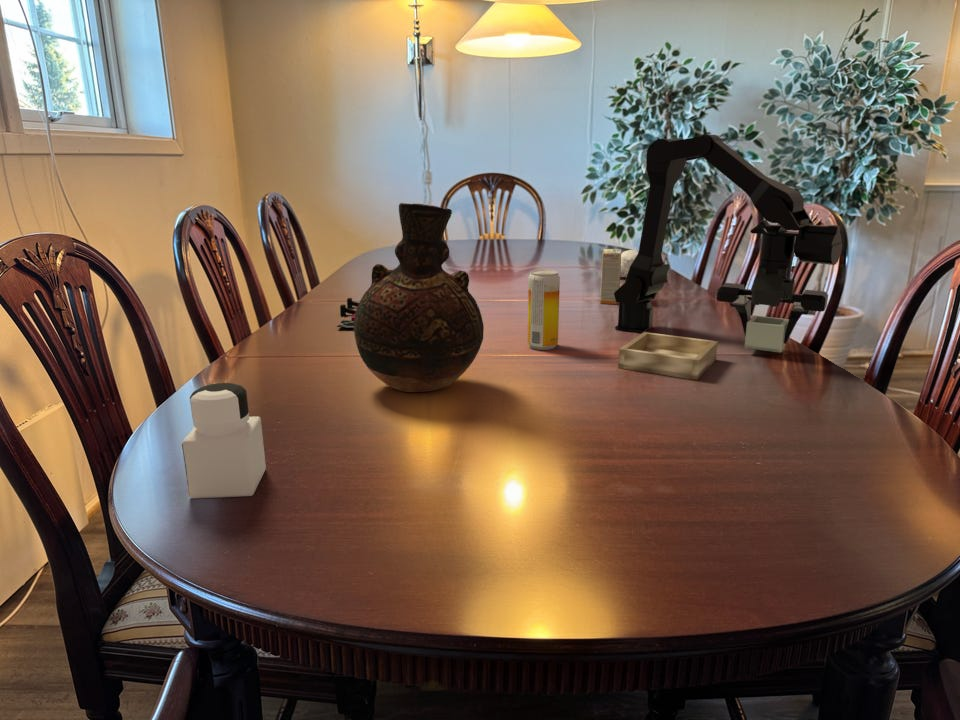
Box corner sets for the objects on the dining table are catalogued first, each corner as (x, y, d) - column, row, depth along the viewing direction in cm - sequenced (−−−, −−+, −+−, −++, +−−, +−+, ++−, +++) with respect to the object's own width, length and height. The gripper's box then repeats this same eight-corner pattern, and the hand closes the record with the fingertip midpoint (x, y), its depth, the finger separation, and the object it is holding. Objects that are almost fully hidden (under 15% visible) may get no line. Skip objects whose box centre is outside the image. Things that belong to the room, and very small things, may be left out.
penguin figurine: (643, 250, 205) (604, 255, 204) (644, 278, 208) (606, 283, 206) (635, 247, 211) (598, 252, 210) (636, 275, 214) (599, 280, 212)
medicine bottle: (207, 471, 84) (195, 379, 80) (266, 469, 85) (257, 377, 81) (188, 499, 77) (174, 400, 74) (253, 497, 78) (242, 397, 74)
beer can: (561, 344, 138) (564, 270, 134) (552, 352, 133) (553, 275, 129) (533, 341, 141) (535, 268, 136) (522, 348, 136) (523, 273, 131)
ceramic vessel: (345, 403, 106) (332, 206, 98) (368, 369, 123) (359, 198, 114) (481, 405, 105) (479, 206, 97) (485, 370, 122) (485, 198, 113)
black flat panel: (328, 331, 150) (396, 332, 150) (327, 318, 150) (396, 319, 150) (353, 304, 179) (410, 305, 179) (352, 293, 178) (410, 294, 178)
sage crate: (744, 347, 130) (747, 322, 129) (750, 340, 135) (753, 315, 134) (781, 352, 127) (784, 326, 125) (786, 344, 132) (789, 319, 131)
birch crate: (618, 367, 123) (619, 349, 122) (643, 349, 135) (644, 331, 134) (697, 380, 116) (698, 360, 115) (716, 359, 128) (717, 341, 127)
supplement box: (618, 304, 174) (621, 253, 170) (599, 303, 175) (601, 252, 171) (619, 298, 182) (621, 248, 178) (600, 297, 183) (603, 248, 179)
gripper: (713, 261, 124) (706, 344, 129) (827, 269, 115) (814, 358, 120) (727, 253, 133) (719, 331, 138) (833, 260, 124) (821, 343, 129)
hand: (765, 340), depth 131 cm, fingers closed on sage crate, 6 cm apart
